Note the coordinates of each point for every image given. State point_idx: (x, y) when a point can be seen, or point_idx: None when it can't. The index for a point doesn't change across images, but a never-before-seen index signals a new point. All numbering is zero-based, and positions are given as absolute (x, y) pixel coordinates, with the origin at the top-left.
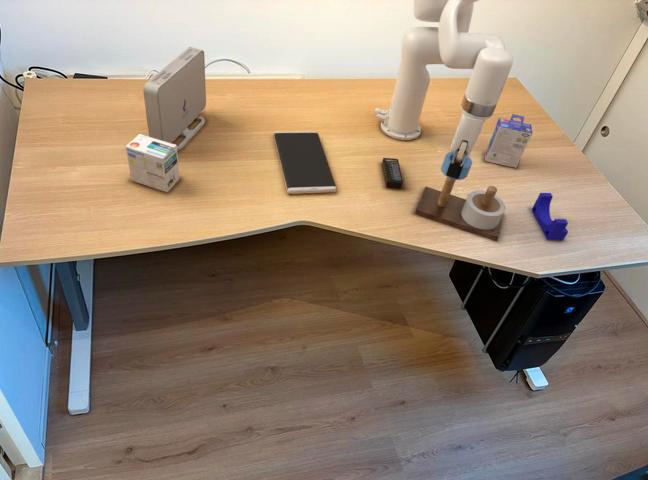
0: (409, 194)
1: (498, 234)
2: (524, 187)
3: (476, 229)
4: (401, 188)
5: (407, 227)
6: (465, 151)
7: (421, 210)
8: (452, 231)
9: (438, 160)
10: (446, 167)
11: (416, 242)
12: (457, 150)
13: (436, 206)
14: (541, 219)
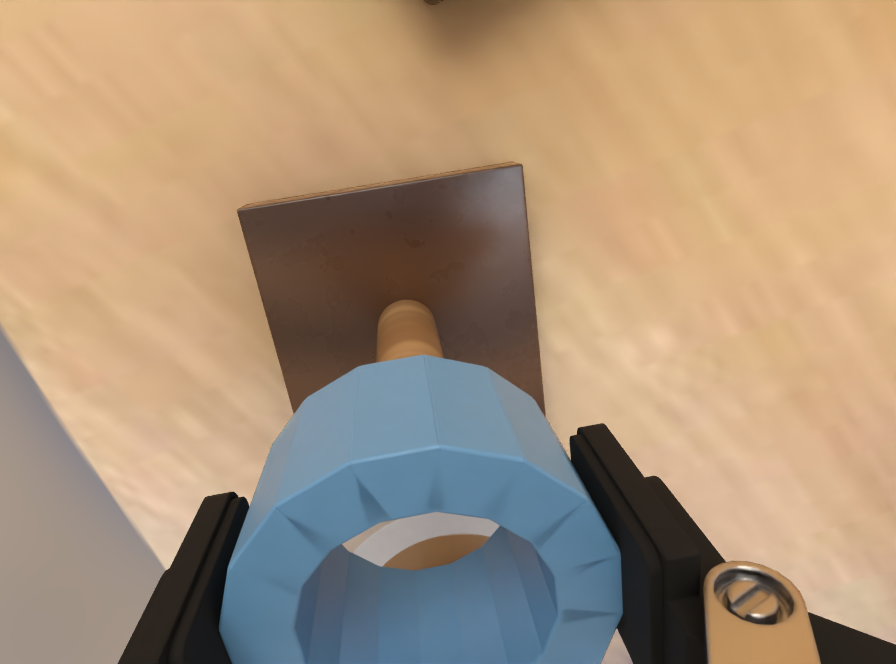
0: (410, 88)
1: None
2: (827, 577)
3: None
4: (433, 4)
5: (85, 218)
6: (641, 656)
7: (254, 244)
8: (267, 439)
9: (889, 117)
10: (257, 496)
11: (10, 319)
12: (628, 549)
13: (363, 309)
14: None
